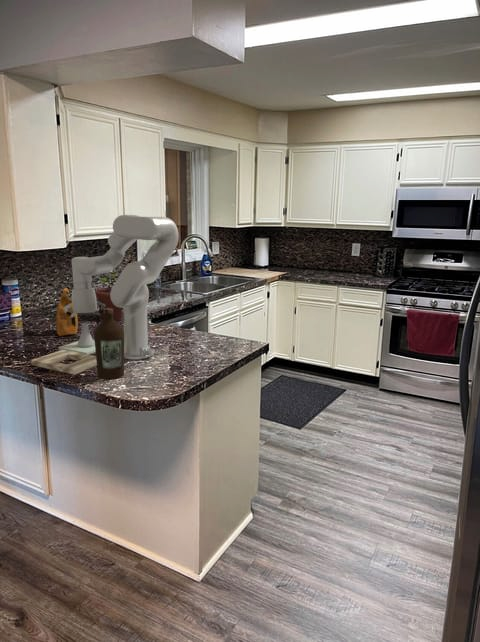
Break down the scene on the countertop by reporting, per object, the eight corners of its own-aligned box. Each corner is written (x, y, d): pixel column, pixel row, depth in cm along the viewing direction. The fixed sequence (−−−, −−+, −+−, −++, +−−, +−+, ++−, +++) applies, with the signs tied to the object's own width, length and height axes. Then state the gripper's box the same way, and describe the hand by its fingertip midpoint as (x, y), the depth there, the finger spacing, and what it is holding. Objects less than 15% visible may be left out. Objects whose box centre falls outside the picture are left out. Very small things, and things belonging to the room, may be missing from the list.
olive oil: (94, 372, 172) (91, 307, 167) (123, 369, 177) (120, 305, 171) (97, 381, 163) (94, 313, 157) (128, 378, 167) (125, 311, 161)
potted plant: (125, 314, 268) (123, 272, 262) (133, 323, 249) (132, 277, 243) (93, 317, 261) (91, 273, 255) (100, 325, 242) (98, 278, 236)
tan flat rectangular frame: (104, 362, 183) (104, 357, 183) (74, 374, 169) (73, 369, 169) (63, 354, 193) (63, 349, 192) (31, 365, 178) (31, 360, 178)
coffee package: (78, 329, 233) (76, 286, 228) (78, 335, 221) (75, 290, 216) (57, 330, 230) (54, 287, 225) (56, 337, 218) (52, 291, 213)
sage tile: (112, 345, 206) (112, 343, 206) (86, 355, 192) (86, 352, 192) (85, 340, 213) (85, 338, 213) (58, 349, 199) (58, 347, 199)
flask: (88, 342, 207) (87, 320, 205) (98, 345, 203) (97, 323, 201) (74, 345, 202) (72, 323, 200) (83, 348, 197) (82, 326, 195)
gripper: (103, 283, 203) (106, 321, 206) (61, 286, 197) (65, 324, 201) (104, 286, 196) (107, 325, 199) (61, 288, 190) (65, 328, 194)
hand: (86, 325), depth 200 cm, fingers open, 9 cm apart
